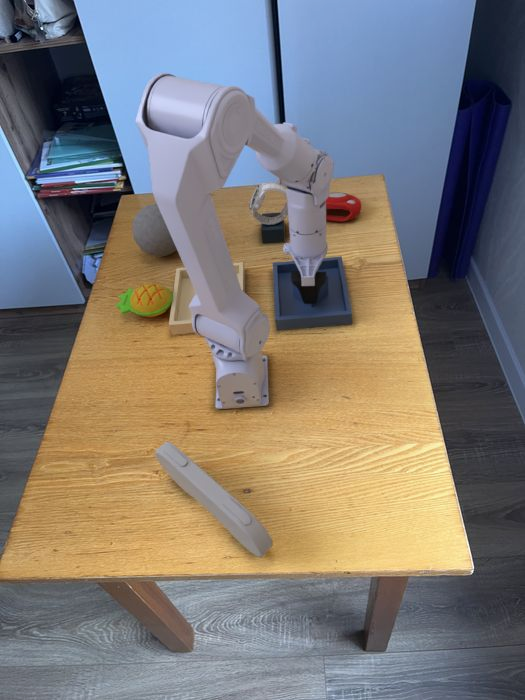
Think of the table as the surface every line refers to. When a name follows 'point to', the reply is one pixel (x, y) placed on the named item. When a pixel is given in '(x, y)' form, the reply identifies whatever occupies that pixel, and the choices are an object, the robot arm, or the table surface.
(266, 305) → the table surface
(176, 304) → the beige tray
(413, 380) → the table surface
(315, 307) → the blue tray
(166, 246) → the decorative ball
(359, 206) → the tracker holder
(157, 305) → the toy pineapple
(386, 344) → the table surface
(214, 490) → the game controller
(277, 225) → the watch
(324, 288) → the blue block
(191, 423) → the table surface
